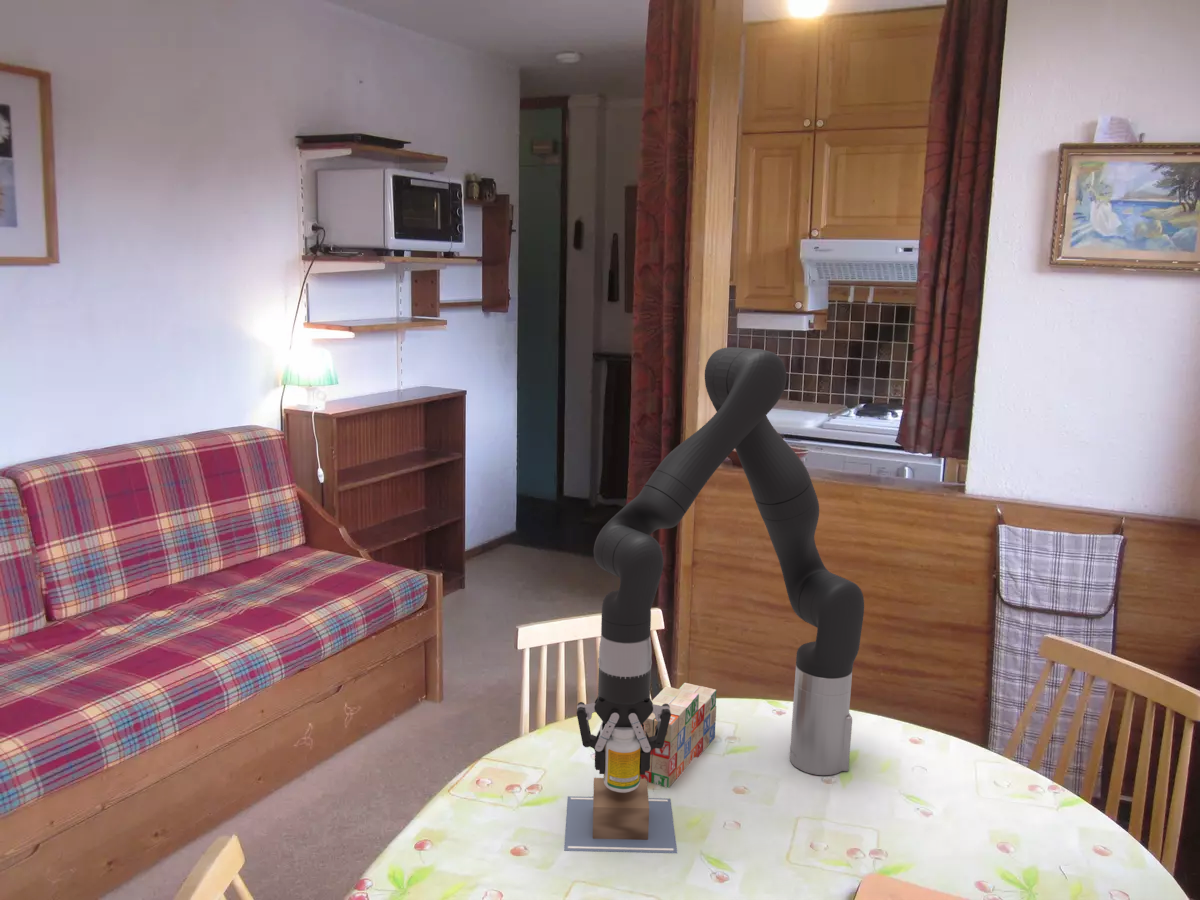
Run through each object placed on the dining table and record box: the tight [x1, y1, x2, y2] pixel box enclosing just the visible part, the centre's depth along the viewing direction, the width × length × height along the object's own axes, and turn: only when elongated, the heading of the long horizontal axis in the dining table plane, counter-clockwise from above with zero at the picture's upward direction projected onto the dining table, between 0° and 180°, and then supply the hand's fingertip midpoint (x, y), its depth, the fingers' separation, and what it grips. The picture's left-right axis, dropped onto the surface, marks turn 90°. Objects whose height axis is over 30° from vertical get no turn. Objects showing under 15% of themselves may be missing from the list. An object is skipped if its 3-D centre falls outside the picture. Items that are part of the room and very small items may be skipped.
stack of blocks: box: [640, 682, 717, 789], centre depth 161 cm, size 21×6×12 cm, turn 153°
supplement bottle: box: [603, 727, 641, 793], centre depth 140 cm, size 5×5×10 cm
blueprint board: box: [563, 795, 678, 854], centre depth 142 cm, size 16×14×1 cm
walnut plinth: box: [592, 777, 649, 840], centre depth 141 cm, size 8×8×5 cm
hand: (621, 771), depth 140 cm, fingers closed on supplement bottle, 5 cm apart
